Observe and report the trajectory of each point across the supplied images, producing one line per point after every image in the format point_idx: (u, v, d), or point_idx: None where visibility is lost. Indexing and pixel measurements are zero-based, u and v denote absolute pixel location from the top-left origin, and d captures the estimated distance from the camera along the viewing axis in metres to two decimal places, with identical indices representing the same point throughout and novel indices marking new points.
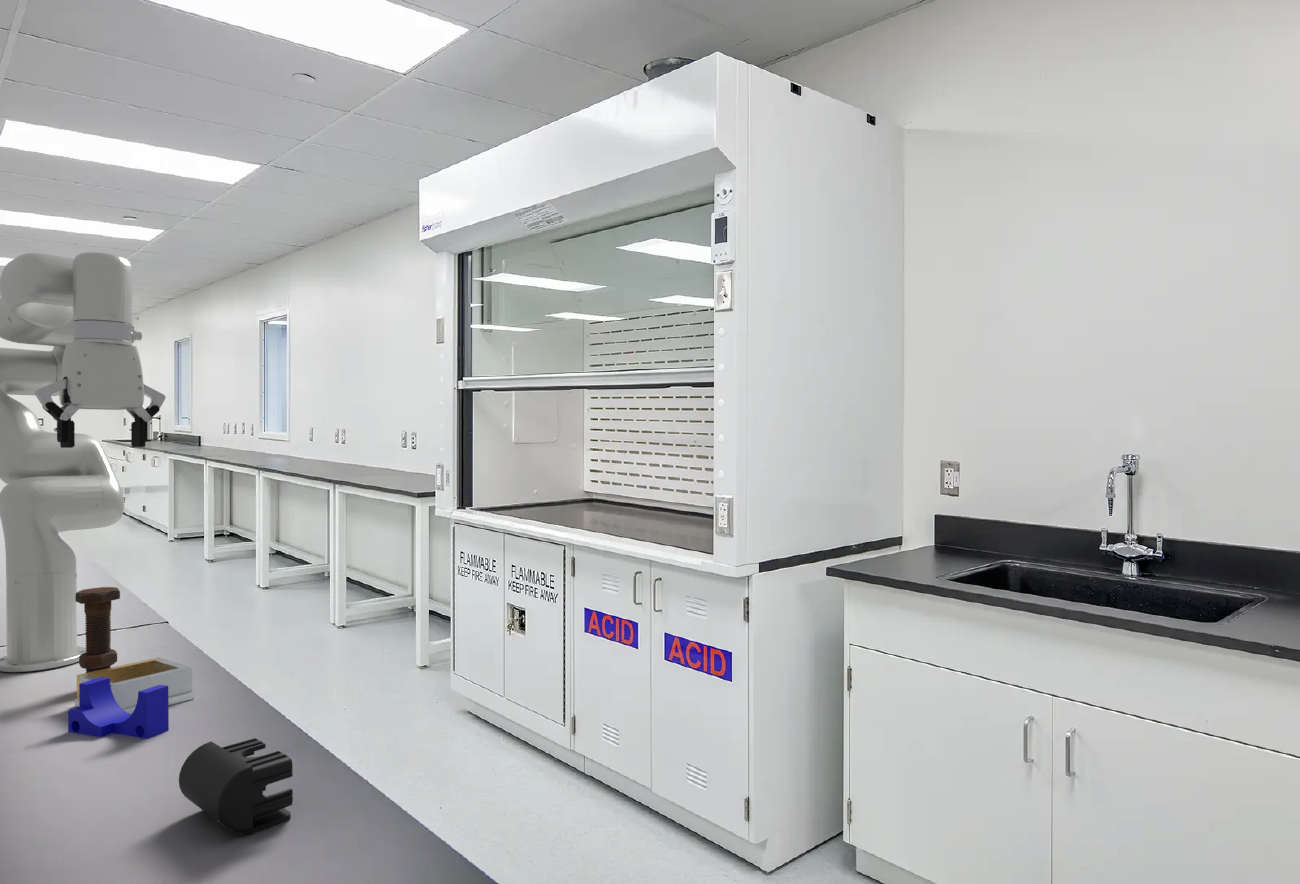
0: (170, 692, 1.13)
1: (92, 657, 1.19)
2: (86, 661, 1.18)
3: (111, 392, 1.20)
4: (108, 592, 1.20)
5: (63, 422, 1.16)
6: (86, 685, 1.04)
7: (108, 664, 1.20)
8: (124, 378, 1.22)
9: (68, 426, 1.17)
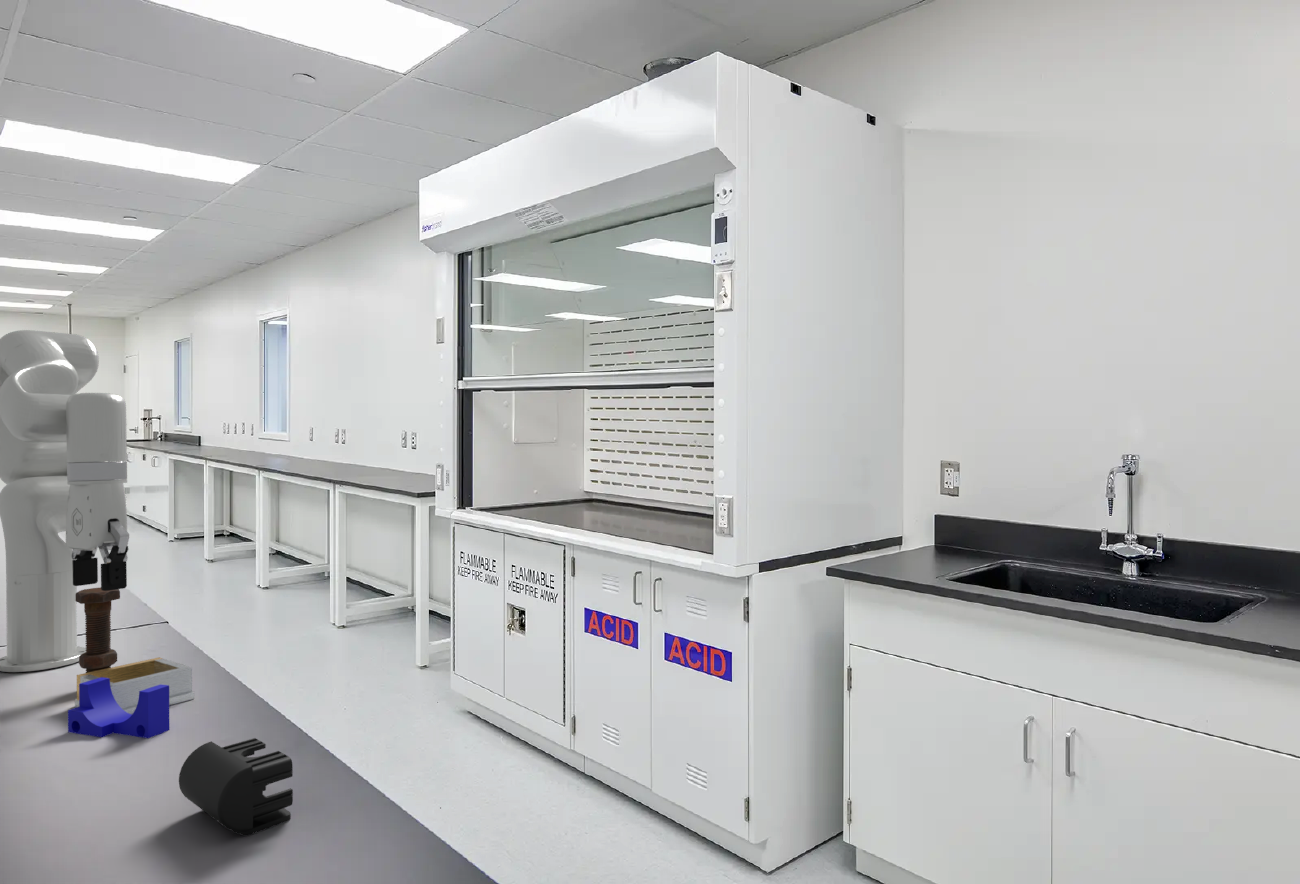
0: (170, 692, 1.13)
1: (92, 657, 1.19)
2: (86, 661, 1.18)
3: None
4: (108, 592, 1.20)
5: None
6: (86, 685, 1.04)
7: (108, 664, 1.20)
8: None
9: (123, 567, 1.19)
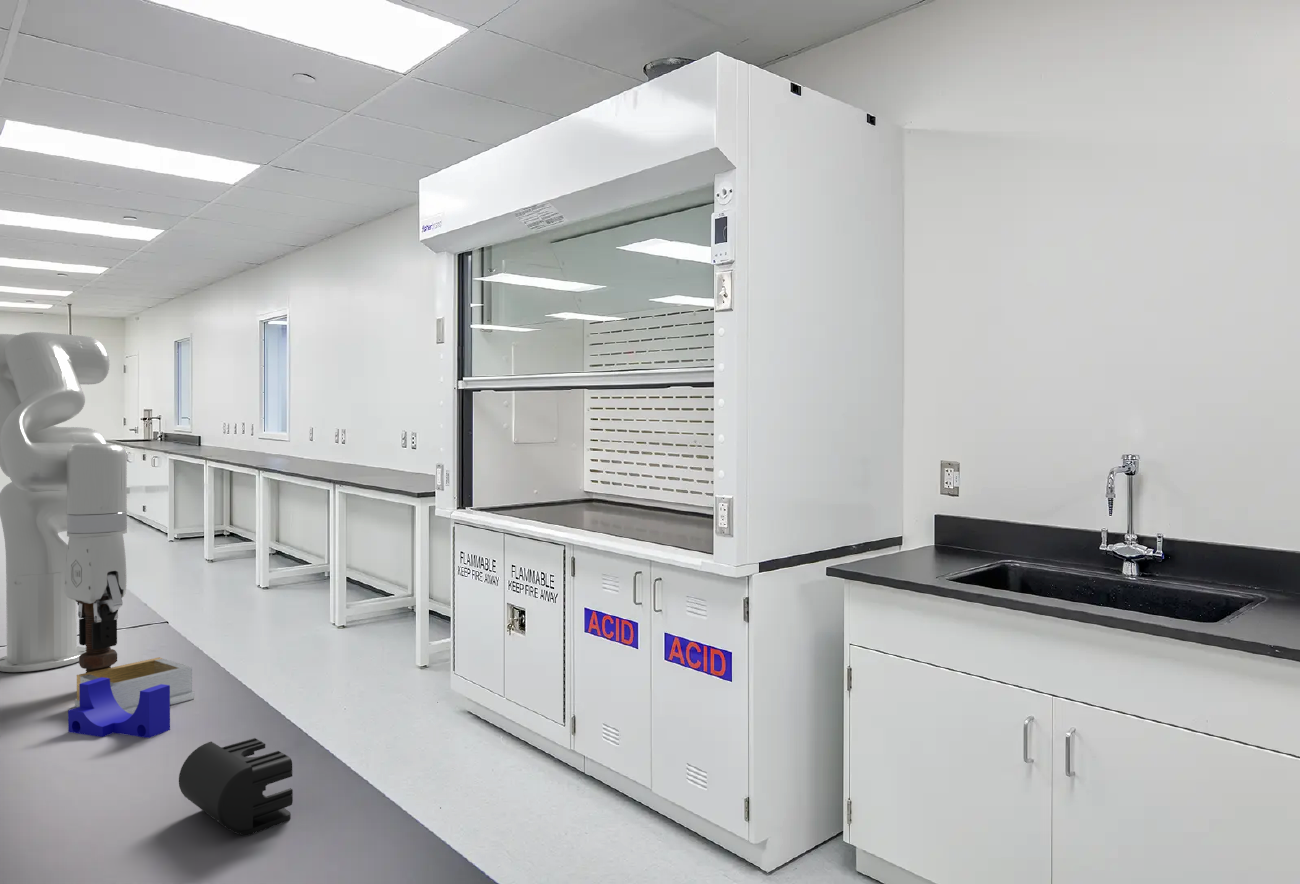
0: (170, 692, 1.13)
1: (92, 657, 1.19)
2: (86, 661, 1.18)
3: None
4: None
5: None
6: (86, 685, 1.04)
7: (108, 664, 1.20)
8: None
9: (114, 625, 1.20)
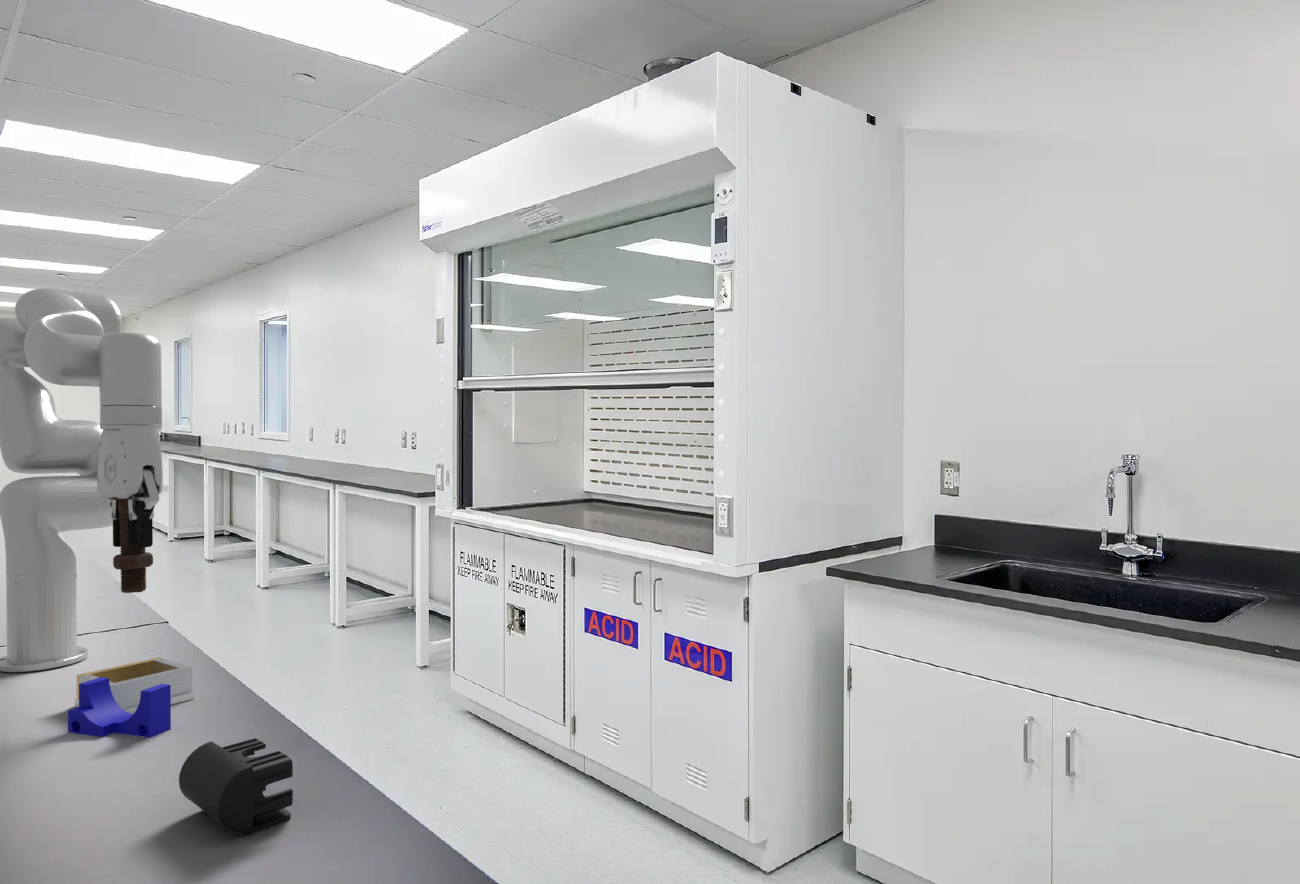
0: None
1: (127, 557, 1.12)
2: (121, 561, 1.12)
3: None
4: None
5: None
6: (86, 685, 1.04)
7: (144, 565, 1.13)
8: None
9: (149, 525, 1.14)
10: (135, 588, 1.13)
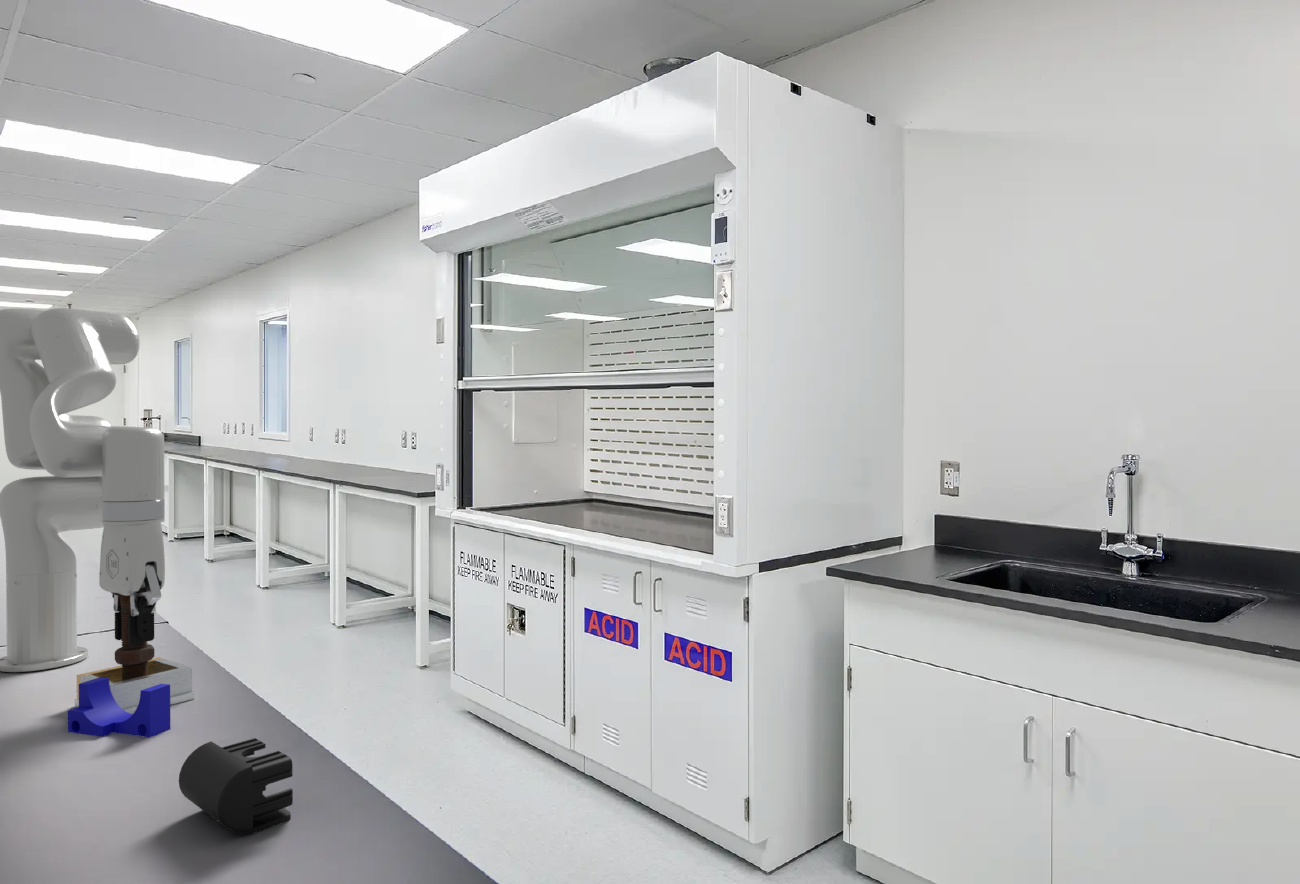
0: (170, 692, 1.13)
1: (129, 652, 1.12)
2: (122, 656, 1.12)
3: None
4: None
5: None
6: (85, 685, 1.04)
7: (145, 660, 1.13)
8: None
9: (151, 618, 1.14)
10: None
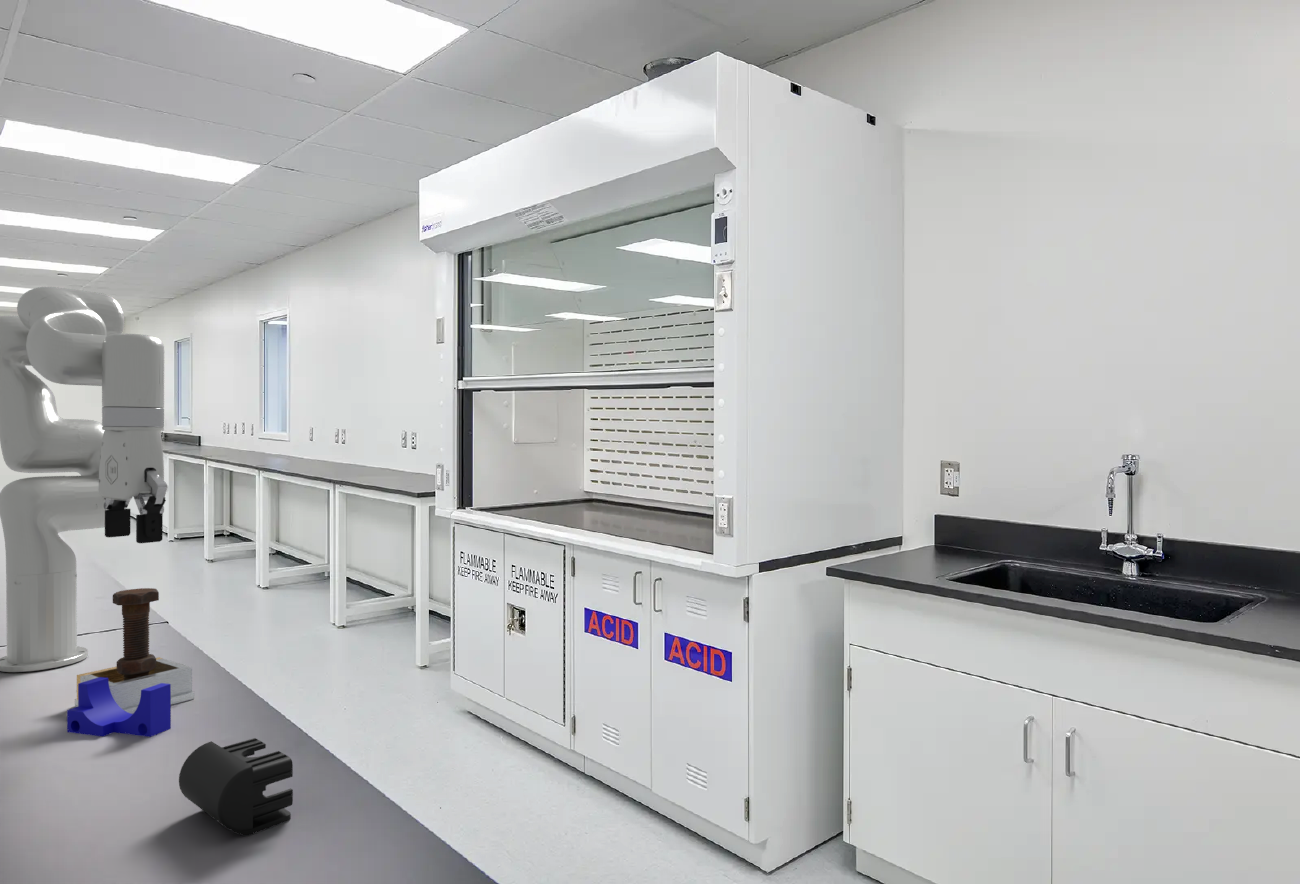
0: None
1: (130, 662, 1.12)
2: (124, 666, 1.12)
3: None
4: (146, 593, 1.13)
5: None
6: (85, 685, 1.04)
7: (147, 670, 1.13)
8: None
9: (159, 519, 1.12)
10: None
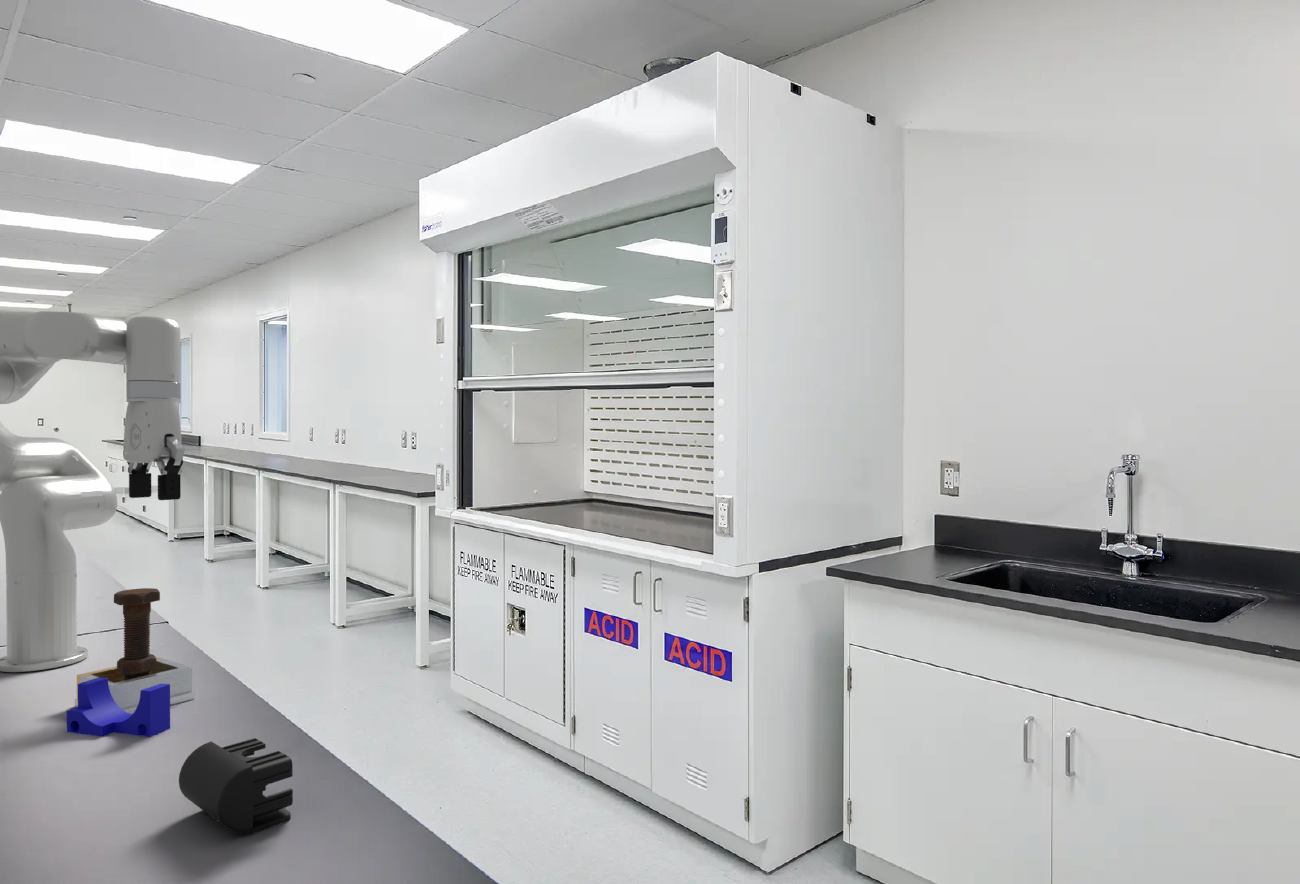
0: (170, 692, 1.13)
1: (130, 662, 1.12)
2: (124, 666, 1.12)
3: None
4: (148, 593, 1.13)
5: None
6: (84, 685, 1.04)
7: (147, 670, 1.13)
8: None
9: (178, 479, 1.27)
10: None
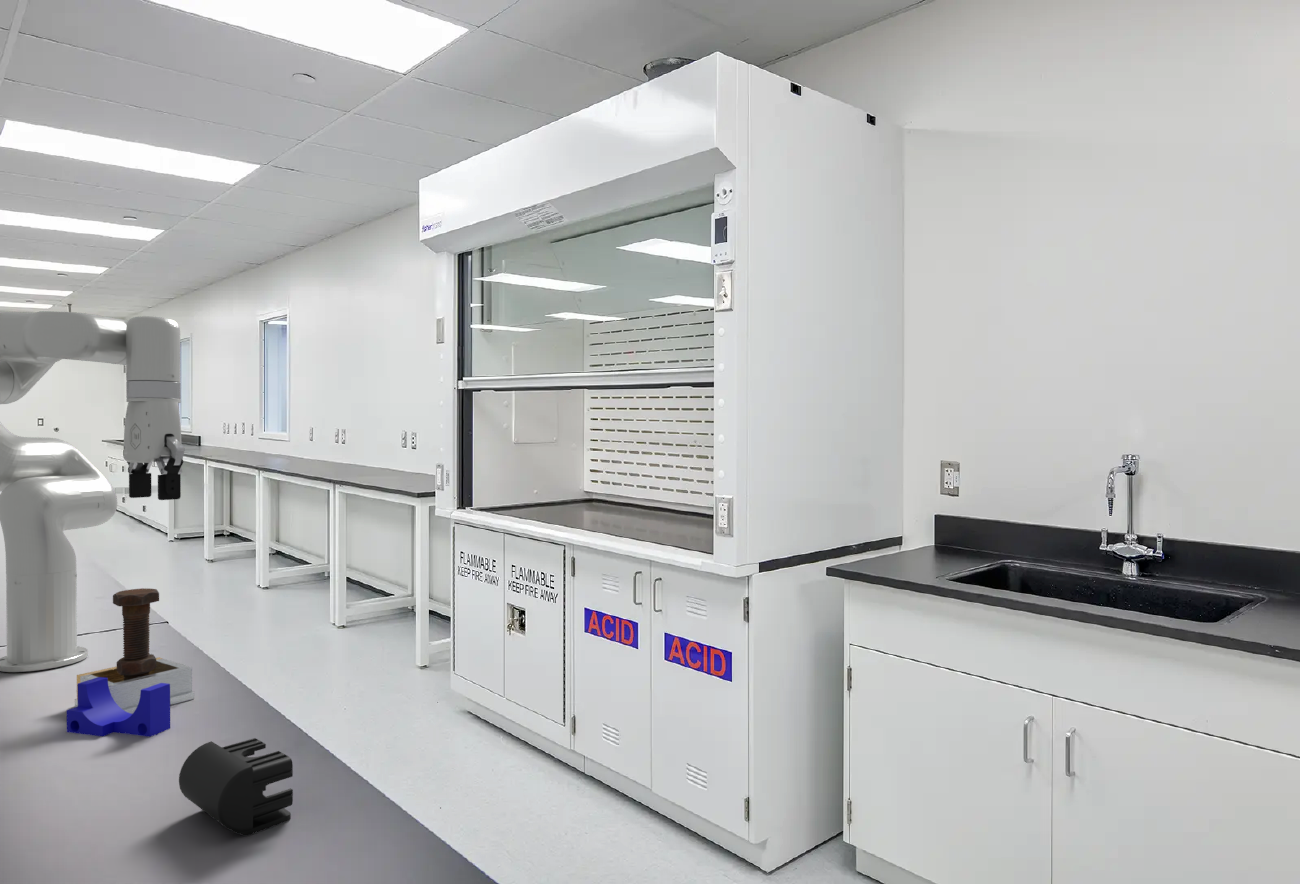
0: (170, 692, 1.13)
1: (130, 663, 1.12)
2: (124, 667, 1.12)
3: None
4: (147, 594, 1.13)
5: None
6: (84, 685, 1.04)
7: (147, 670, 1.13)
8: None
9: (178, 479, 1.27)
10: None
